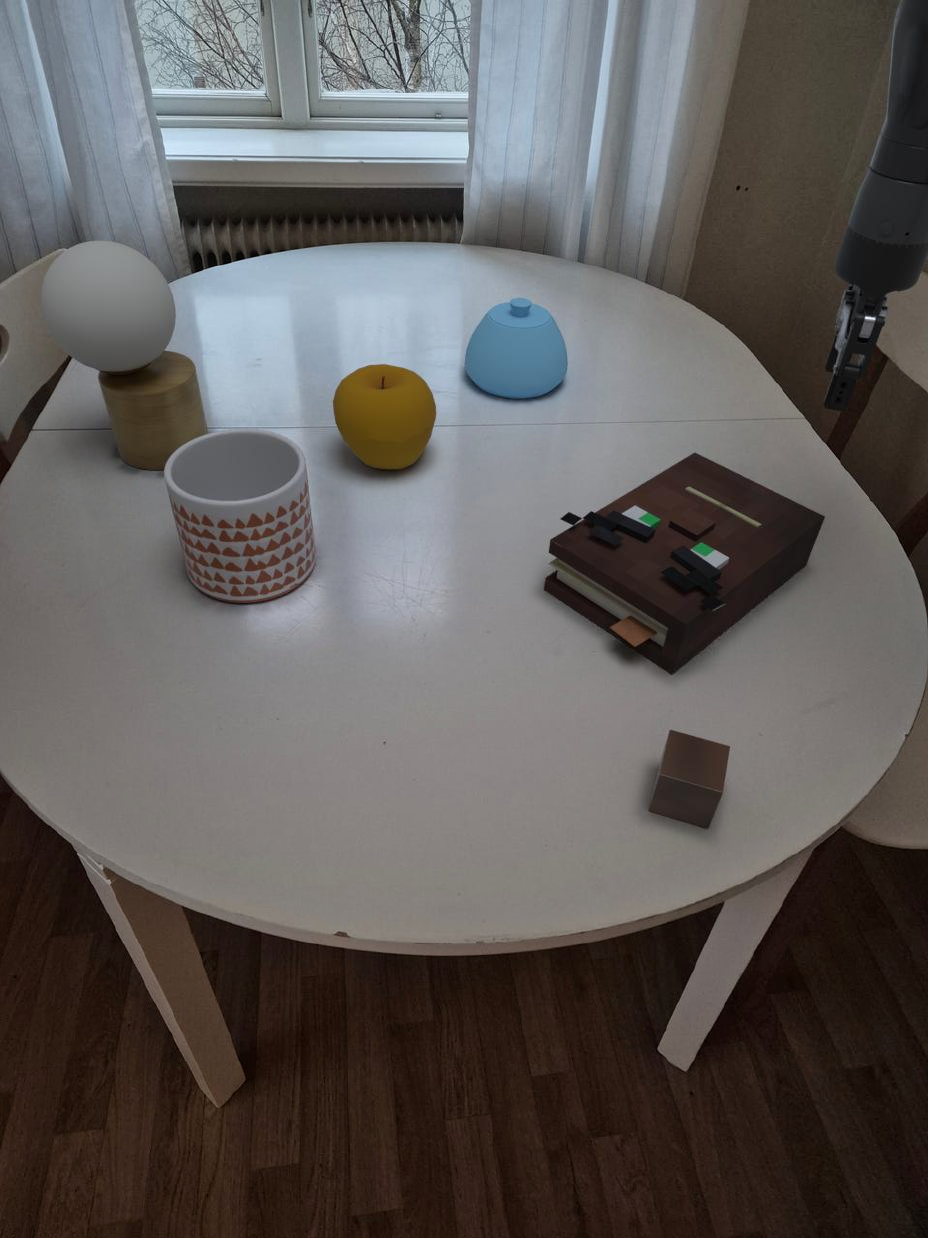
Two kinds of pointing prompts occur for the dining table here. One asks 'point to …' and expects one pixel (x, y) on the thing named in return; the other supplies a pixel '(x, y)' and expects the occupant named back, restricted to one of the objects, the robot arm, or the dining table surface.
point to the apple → (385, 415)
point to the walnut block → (690, 779)
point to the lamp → (126, 346)
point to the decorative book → (680, 558)
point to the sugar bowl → (517, 351)
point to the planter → (242, 513)
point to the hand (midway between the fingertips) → (834, 389)
